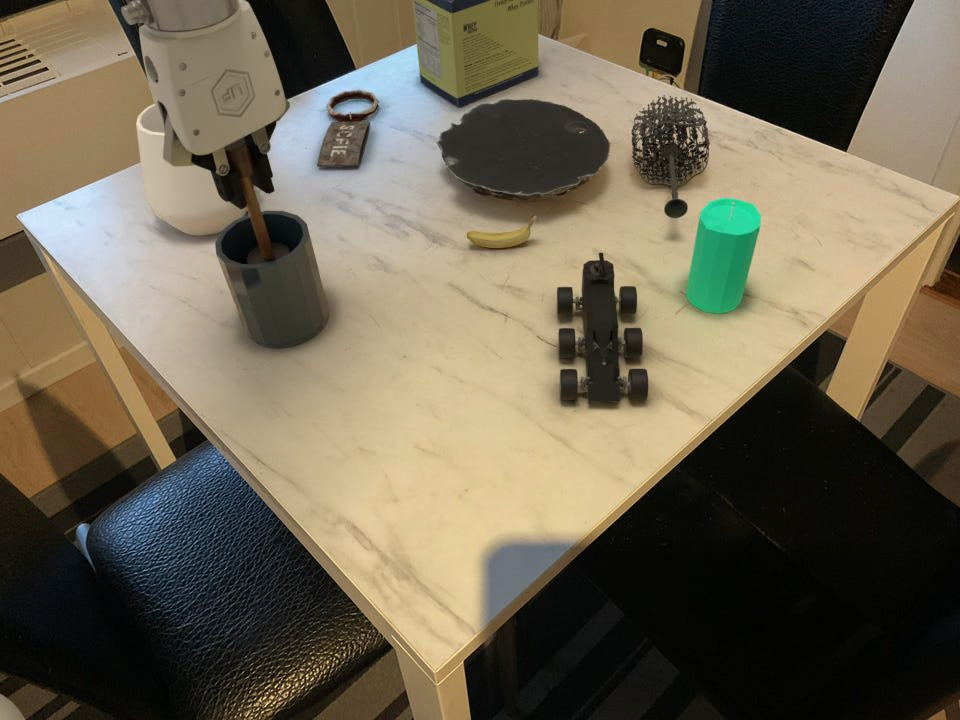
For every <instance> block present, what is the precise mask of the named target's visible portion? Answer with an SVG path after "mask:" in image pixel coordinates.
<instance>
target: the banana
mask: <svg viewBox="0 0 960 720" xmlns="http://www.w3.org/2000/svg"><path fill="white" fill-rule="evenodd" d="M535 222H537V215H536V214H535V213H533V215H531V220H530V221H529V222H528V224H527V225H524V226H522V227H521V228H518V229H516V230H511V231H506V232H484V231H477V230H471V231H468V232H467V234H466V238H467V239H468V240H469V242H470V243H472V244H474V245H476V246H479V247H483V248H488V249H490V248H491V249H505V248H512V247H515V246H518V245H520V244H523V243H524V242H525V241H527V240H528V239H529V237H530V236H531V228H532V225H534V223H535Z"/></svg>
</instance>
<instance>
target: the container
mask: <svg viewBox="0 0 960 720" xmlns="http://www.w3.org/2000/svg"><path fill="white" fill-rule="evenodd" d="M261 213H262V216H263V219H264V222H265V226H266V229H267V232H268V236H269V239H270V242H271V243H274V242H275V243H281V244H284V245H285V246H287V247H288V248H289V250H290V253H289V254H287V255H285V256H283V257H281V258H279V259H277V260H275V261H271V262H267V263H262V264H248V263H247V256H248V254H249V253H250V252H251V251H252V250H253V249H254V248H256V247H257V246H259V245H258V241H257V238H256V235H255V232H254V229H253V226H252V223H251V220H250V216H249V214H245V215H244V216H243V217H242V218H240V219H237V220H235V221H233V222H232V223H231V224H229V225H228V226H227V227H226V228H225V229H223V230H222V231H221V232H219V234H218V236H217V238H216V240H215V242H214V246H215V255H216V257H217V260H218V262H219V263H218V264H219V265H220V268H221V270H222V273H223V276H224V278H225V281H226V284H227V287H228V290H229V292H230V295H231V298H232V300H233V303H234V306H235V308H236V311H237V315H238V317H239V320H240V322H241V325H242V328H243V330H244V332H245V333H246V335H247V337H248V338H249V339H250V340H251V341H253V342H254V343H256V344H257V345H260V346H261V347H267V348H272V349H283V348H291V347H294V346H298V345H301V344H303V343H305V342H307V341H310V340H311V339H313V338H314V337H315V336H317V335H318V334H319V333H320V332H321V331H322V330H323V328H324V327H325V326H326V324H327V322H328V319H329V315H330V309H329V304H328V300H327V297H326V293H325V288H324V285H323V281H322V277H321V273H320V270H319V265H318V262H317V257H316V254H315V250H314V246H313V241H312V238H311V235H310V230H309V227H308V223H307V222H306V221H305V220H303V218H301V217H300V215H297V214H294V213H291V212H289V211H285V210H263V211H262V210H261Z"/></svg>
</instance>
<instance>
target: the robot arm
mask: <svg viewBox="0 0 960 720" xmlns="http://www.w3.org/2000/svg"><path fill="white" fill-rule="evenodd" d="M120 11H121V14H122V17H123V18H124V20H125V22H126V23H127V24H128V25H130V26H132V25H135V24H137V23H138V24H142V23H143V25H141V26H139V28H138V33H139V34H138V35H139V41H140V42H139V43H140V49H141V54H142V61H143V66H144V71H145V74H146V78H147V82H148V86H149V89H150V93H151V97H152V100H153V104H155V106H156V110H157V113H158V115H159V118H160V121H161V124H162V126H163V128H164V131H165V135H164V150H163V159H164V160H165V161H166V162H168V163H169V164H171V165H172V166H175V167H177V166H191V165H197V166H199V167H201V168H204V169H207V170H210V171H211V174H212V177H213V180H214V183H215V186H216V189H217V191H218V194H219V196H220V197H221V198H222V199H223V200H224V201H226V202H228V201H229V202H230V203H232V204H233V205H235V206H236V207H238V208H239V209H241V210H242V209H244V208H245V207H246V205H247V201H246V198H245V195H244V192H243V189H242V185H241V182H240V179H239V176H238V173H237V172H236V171H235V170H234V169H232V168H231V167H230V165H229V163H228V159H227V156H226V152H225V148H224V147H225V146H227V145H229V144H231V143H233V142H235V141H237V140H239V139H241V138H245V139H246V140H247V144H248V147H249V150H250V154H251V157H252V160H253V164H254V167H255V171H254V173H253V174H252V175H251V176H250V177H251V180H252V183H253V185H254V187H255V188H257V189H259V190H260V191H262V192H263V193H265V194H269V195H271V194H272V193H274V192H275V187H274V184H273V180H272V178H273V177H274V173H273V169H272V166H271V162H270V159H269V156H268V153H269V152H270V151H271V147H272V146H271V139H272V137H273V134H274V132H275V129H276V127H277V122H279V121H280V120H281V119H282V118H283V117H284V116H285V114H287V112H288V111H289V109H290V107H291V104H290V101H289V100H288V99H287V98H286V97H285V91H284V89H283V85H282V81H281V78H280V75H279V71H278V68H277V66H276V62H275V60H274V57H273V54H272V51H271V48H270V46H269V43H268V41H267V38H266V36H265V33H264V32H263V29H262V26H261V25H260V23H259V20H258V17H257V16H256V15H255V12H254V10H253V8H252V6H251V4H250V2H249V1H247V0H131V1H129V2H128V4H125V5H124V6H121V7H120ZM0 720H26V718H25V716H24V715H23V713H22V712H21V710H20V709H19V708H18V707H17V705H16V704H15V703H14V702H13V701H11V700H10V698H8V697H6V696H5V695H3V694H1V693H0Z"/></svg>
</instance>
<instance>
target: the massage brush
mask: <svg viewBox="0 0 960 720" xmlns="http://www.w3.org/2000/svg"><path fill="white" fill-rule="evenodd" d="M677 98H678V96H675V97H672V96H671V95H669V99H667V97H666V95H665V94H663V96H662V97H660V96H657V100H656V102H655V100H654V99H653V100H652V102H650V104H647V109H645V107H642V110H639V111H638V112H639V114H642V115H638V113H636V114H635V117H634V119H633V122H634V124H633V125H632V129H631V133H630V134H631V136H632V137H631V146H632V151H631V153H632V155H631V158H632V160H633V161H632V162H633V165H634V167H635V169H636V170H637V172H638V174H639V175H640V177H641V179H642V180H643V181H644V182H645V183H646V184H648V185H650V186H665V187H667V188H670V190H671V192H670V196H671V198H672V199H670V200H669V201H667V202H666V203H665V205H664V209H663V210H664V214H665V216H667V217H668V218H671V219H680V218H682V217H683V216H685V215H686V214H687V212H688V209H689V207H688V204H687V202H686V201H685V200H683V199H682V198H679V192H678V191H677V190H678V188H682V187H684V186H686V185H687V184H688V183H689V182H690V181H691V180H692V179H693V178H695V177H696V176H699V175H701V174H702V173H703V172H704V171H705V170H706V168H707V166H708V163H709V157H710V145H711V142H710V139H709V132H708V131H709V129H708V127H707V124H708V121H707V120H706V117H705V116H704V112H703V111H702V110H701V107H699V108H694V106H693V105H697V102H695V101H693V98H690V101H688V97H685V99H684V98H683V96H682V97H680V100H678V99H677ZM661 99H662V100H663V102H661ZM674 101H675V102H674ZM685 102H686V103H685ZM656 106H657V107H656ZM698 114H699V115H698ZM699 116H700V117H699ZM638 121H640V122H638ZM700 128H701V129H700ZM698 131H699V133H700V134H701V140H702V141H698V139H699V134H698ZM688 134H689V135H688ZM674 135H675V137H674ZM639 136H640V137H639ZM688 140H689V142H688ZM639 141H641V146H642V147H641V146H638V143H639ZM701 148H703V150H700V149H701ZM638 153H639V155H638ZM640 153H642V154H641V155H642V156H641V155H640ZM690 153H691V155H690ZM704 163H705V165H704ZM655 165H656V166H655ZM701 169H702V170H701ZM696 170H697V171H699V172H697V171H696ZM659 173H661V174H659ZM694 173H695V174H694ZM692 174H693V175H692ZM688 175H689V176H690V177H689V178H687V177H688ZM645 178H647V180H646V179H645ZM655 180H657V183H655ZM665 181H666V182H667V183H668V184H667V183H665ZM684 181H685V182H684ZM651 182H652V183H651ZM682 182H684V183H682Z"/></svg>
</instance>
